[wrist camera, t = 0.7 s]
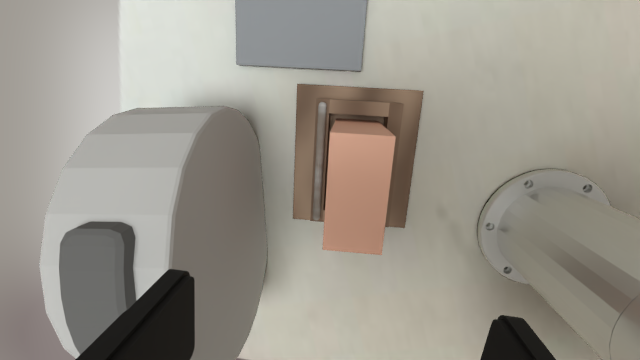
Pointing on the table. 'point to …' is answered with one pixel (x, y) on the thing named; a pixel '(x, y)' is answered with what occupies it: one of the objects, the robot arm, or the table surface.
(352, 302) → the table surface
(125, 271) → the alarm clock
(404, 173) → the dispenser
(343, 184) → the salmon pink tall block
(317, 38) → the mat
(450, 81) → the table surface
